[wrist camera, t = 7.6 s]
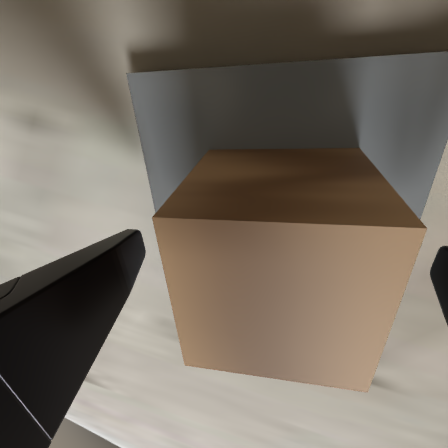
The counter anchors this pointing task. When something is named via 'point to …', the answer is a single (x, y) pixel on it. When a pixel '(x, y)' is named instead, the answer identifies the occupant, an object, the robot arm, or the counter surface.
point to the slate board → (298, 115)
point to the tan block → (287, 263)
